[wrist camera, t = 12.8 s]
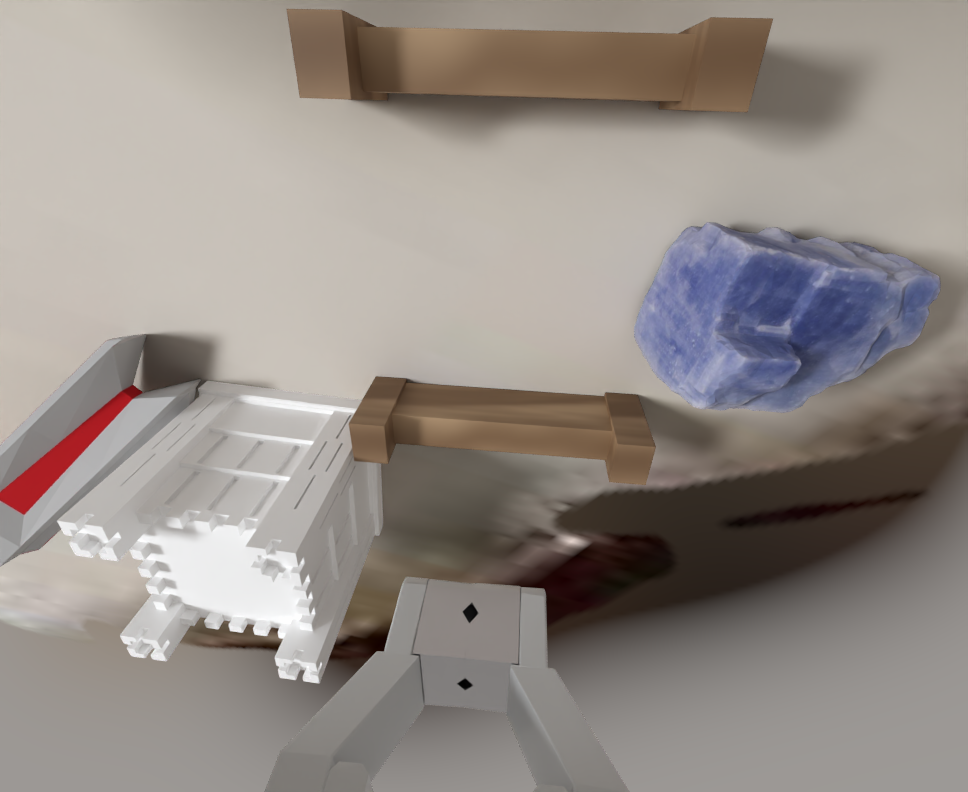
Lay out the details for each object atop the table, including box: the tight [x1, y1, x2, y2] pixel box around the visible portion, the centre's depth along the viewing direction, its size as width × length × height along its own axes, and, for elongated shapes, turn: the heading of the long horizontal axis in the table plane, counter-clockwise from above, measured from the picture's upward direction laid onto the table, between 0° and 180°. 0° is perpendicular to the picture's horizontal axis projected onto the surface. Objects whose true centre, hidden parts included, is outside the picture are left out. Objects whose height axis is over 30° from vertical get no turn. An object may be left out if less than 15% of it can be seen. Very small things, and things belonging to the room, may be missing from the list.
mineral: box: [634, 223, 940, 413], centre depth 28 cm, size 14×10×10 cm
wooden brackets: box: [287, 9, 773, 485], centre depth 29 cm, size 25×20×6 cm
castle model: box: [57, 381, 383, 683], centre depth 36 cm, size 14×14×15 cm
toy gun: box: [0, 334, 201, 566], centre depth 41 cm, size 7×28×15 cm, turn 131°
